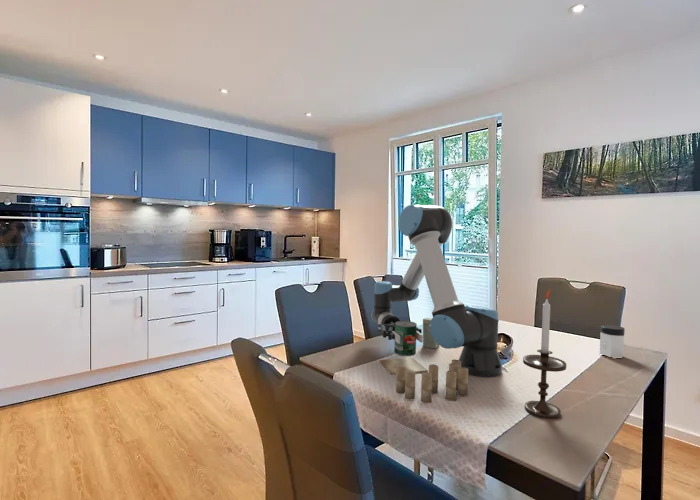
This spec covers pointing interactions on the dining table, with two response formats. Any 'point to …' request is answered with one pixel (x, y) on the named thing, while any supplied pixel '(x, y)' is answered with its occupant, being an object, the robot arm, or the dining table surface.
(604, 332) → the jar
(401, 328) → the canned tomato
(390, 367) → the cork trivet
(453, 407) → the dining table surface
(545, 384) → the candlestick
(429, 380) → the dowel field
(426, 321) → the skincare box
